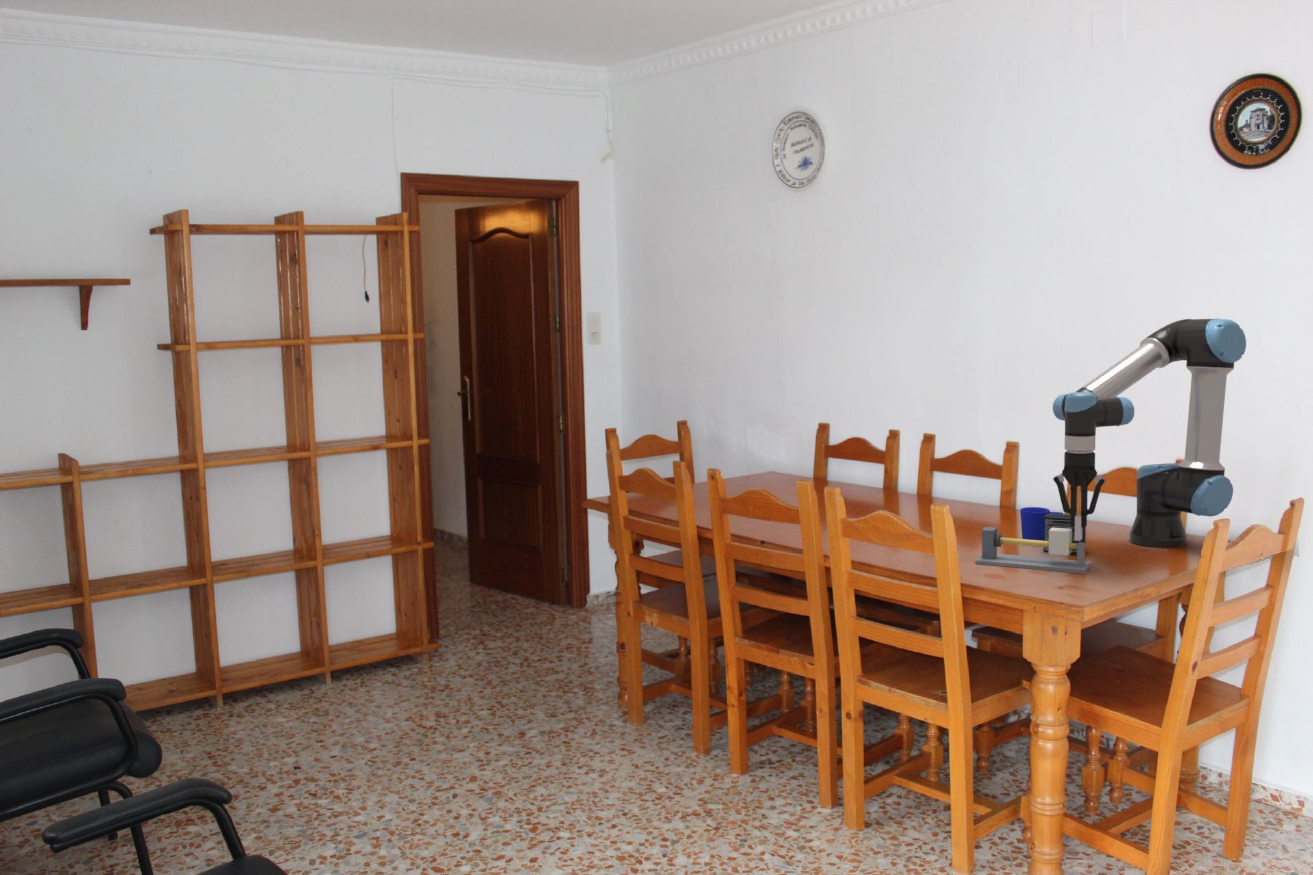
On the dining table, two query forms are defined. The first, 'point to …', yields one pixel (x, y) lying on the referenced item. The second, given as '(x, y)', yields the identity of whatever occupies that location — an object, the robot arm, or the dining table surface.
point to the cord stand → (992, 558)
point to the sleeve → (1060, 541)
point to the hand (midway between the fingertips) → (1078, 539)
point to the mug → (1034, 522)
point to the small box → (1060, 522)
